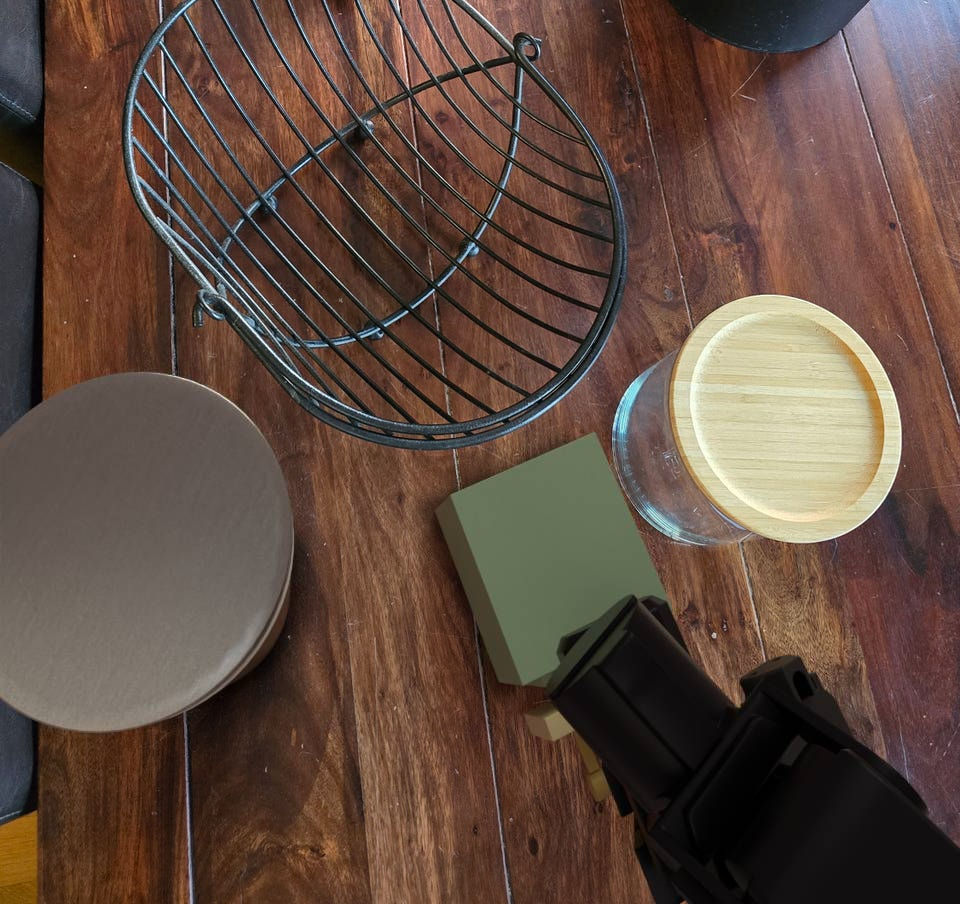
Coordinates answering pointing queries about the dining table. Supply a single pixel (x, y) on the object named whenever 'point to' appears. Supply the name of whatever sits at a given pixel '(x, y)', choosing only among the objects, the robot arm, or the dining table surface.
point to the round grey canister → (137, 552)
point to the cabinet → (545, 554)
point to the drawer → (554, 727)
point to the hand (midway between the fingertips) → (642, 790)
